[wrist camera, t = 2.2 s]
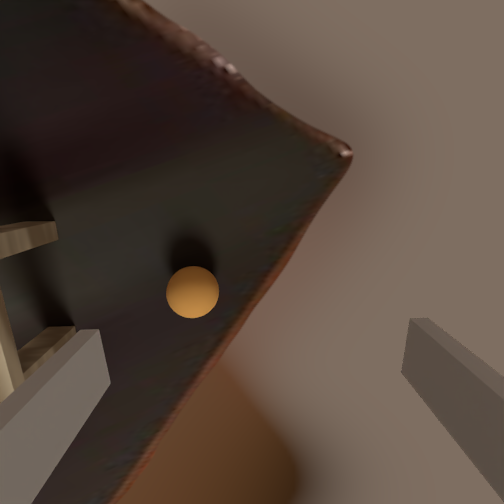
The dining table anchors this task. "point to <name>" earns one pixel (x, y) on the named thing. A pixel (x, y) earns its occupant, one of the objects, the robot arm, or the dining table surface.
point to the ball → (192, 292)
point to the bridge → (3, 345)
